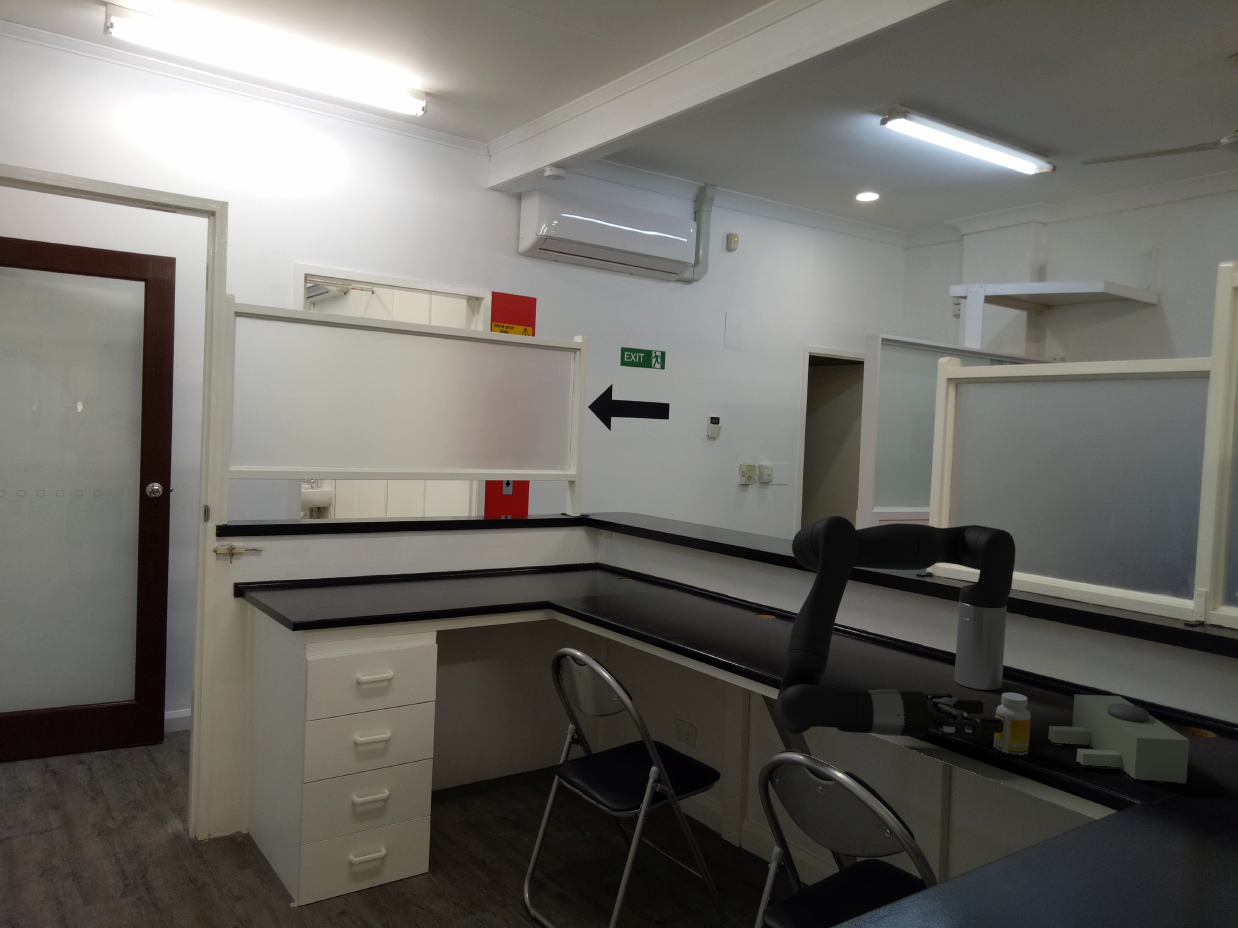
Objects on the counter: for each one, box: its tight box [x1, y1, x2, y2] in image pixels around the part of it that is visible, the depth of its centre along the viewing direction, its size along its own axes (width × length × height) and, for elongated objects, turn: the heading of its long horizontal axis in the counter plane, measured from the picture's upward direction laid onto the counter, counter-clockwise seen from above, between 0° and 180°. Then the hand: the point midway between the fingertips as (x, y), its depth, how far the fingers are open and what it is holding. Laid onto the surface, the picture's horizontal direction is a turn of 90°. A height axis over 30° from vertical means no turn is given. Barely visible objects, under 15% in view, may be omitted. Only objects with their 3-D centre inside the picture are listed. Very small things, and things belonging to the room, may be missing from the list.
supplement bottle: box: [993, 692, 1032, 755], centre depth 145 cm, size 5×5×10 cm
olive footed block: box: [1047, 694, 1190, 784], centre depth 145 cm, size 20×14×8 cm
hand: (992, 716), depth 145 cm, fingers open, 8 cm apart
